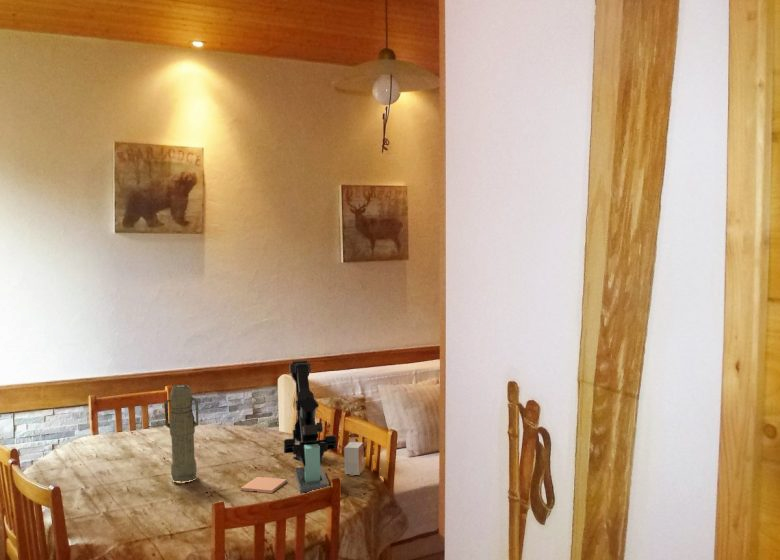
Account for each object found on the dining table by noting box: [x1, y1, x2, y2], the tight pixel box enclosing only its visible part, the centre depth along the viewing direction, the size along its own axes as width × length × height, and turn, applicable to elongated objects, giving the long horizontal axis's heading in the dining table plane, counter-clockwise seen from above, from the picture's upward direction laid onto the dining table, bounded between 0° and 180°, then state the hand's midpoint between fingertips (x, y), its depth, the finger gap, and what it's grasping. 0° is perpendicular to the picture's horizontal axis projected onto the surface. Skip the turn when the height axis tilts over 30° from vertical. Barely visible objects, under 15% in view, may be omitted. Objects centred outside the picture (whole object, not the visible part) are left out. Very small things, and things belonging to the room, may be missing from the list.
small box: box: [343, 441, 365, 476], centre depth 263 cm, size 8×6×10 cm
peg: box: [304, 444, 321, 482], centre depth 249 cm, size 5×5×14 cm
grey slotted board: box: [294, 465, 330, 494], centre depth 253 cm, size 21×10×2 cm, turn 13°
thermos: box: [163, 384, 199, 482], centre depth 259 cm, size 9×12×35 cm
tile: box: [240, 476, 288, 494], centre depth 250 cm, size 12×12×1 cm
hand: (312, 465), depth 248 cm, fingers closed on peg, 5 cm apart
